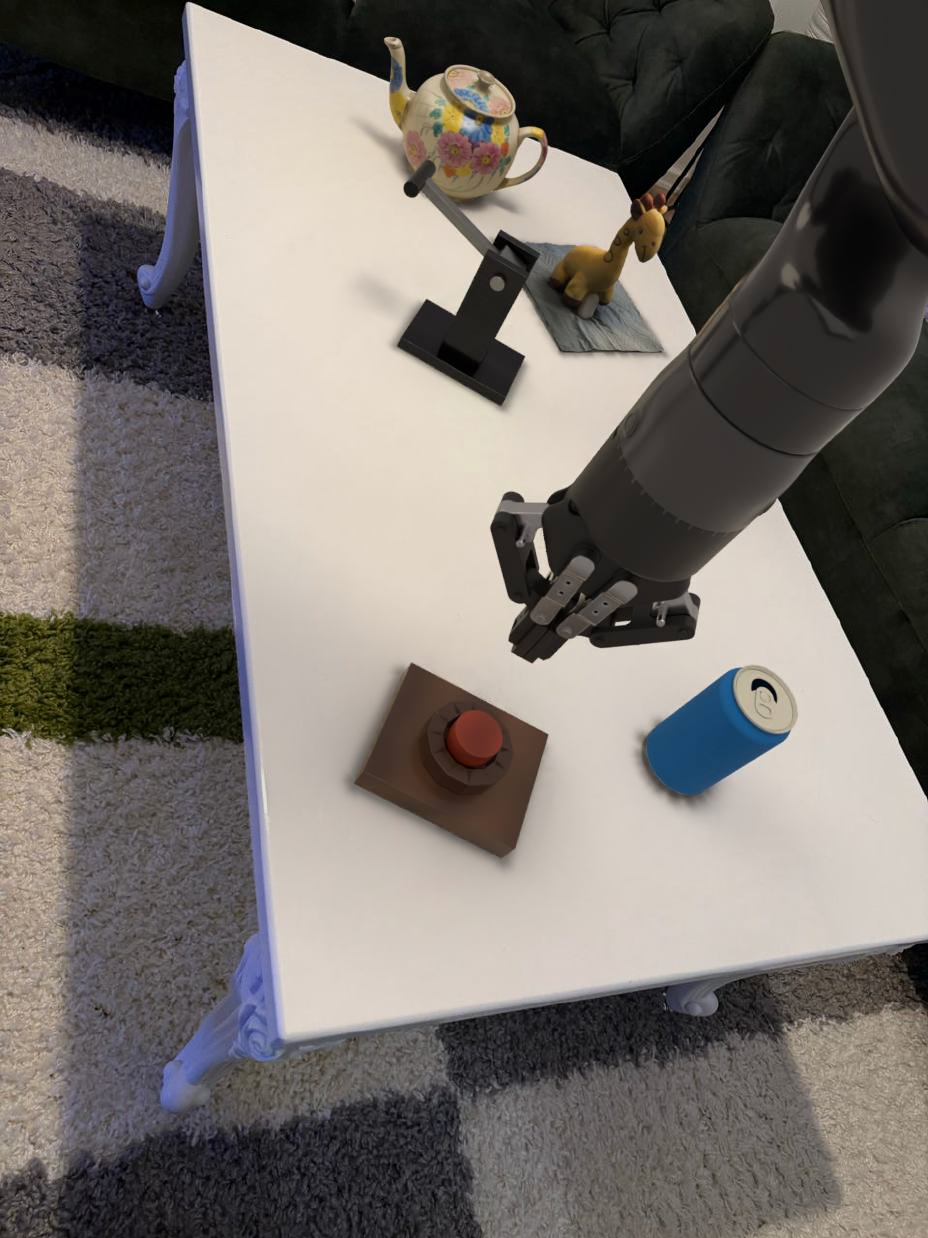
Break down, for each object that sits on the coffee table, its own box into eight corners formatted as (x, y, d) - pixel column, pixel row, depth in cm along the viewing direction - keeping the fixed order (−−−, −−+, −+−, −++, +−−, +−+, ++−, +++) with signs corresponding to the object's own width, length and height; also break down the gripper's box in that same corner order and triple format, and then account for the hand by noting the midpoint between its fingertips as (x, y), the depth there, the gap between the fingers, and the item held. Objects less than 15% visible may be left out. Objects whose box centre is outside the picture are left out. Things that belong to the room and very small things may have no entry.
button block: (353, 783, 62) (371, 761, 59) (401, 675, 68) (419, 650, 65) (502, 858, 63) (527, 840, 60) (536, 745, 70) (560, 724, 67)
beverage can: (709, 745, 77) (803, 681, 68) (703, 811, 73) (802, 752, 64) (645, 715, 76) (732, 646, 67) (636, 779, 72) (727, 715, 63)
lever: (396, 192, 78) (412, 173, 77) (415, 170, 82) (430, 151, 80) (500, 300, 83) (517, 284, 81) (514, 275, 86) (531, 259, 85)
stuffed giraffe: (561, 351, 99) (639, 226, 87) (493, 245, 106) (557, 117, 94) (660, 354, 108) (743, 242, 96) (591, 257, 115) (661, 141, 103)
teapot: (497, 163, 116) (543, 62, 106) (522, 230, 110) (574, 129, 100) (352, 122, 107) (387, 8, 97) (370, 193, 101) (410, 78, 91)
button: (439, 752, 62) (448, 742, 60) (455, 712, 64) (464, 701, 62) (484, 776, 62) (494, 766, 61) (498, 734, 64) (508, 724, 63)
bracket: (396, 346, 88) (443, 238, 79) (422, 306, 94) (469, 200, 84) (500, 406, 90) (559, 307, 80) (520, 364, 95) (578, 266, 85)
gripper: (817, 482, 43) (627, 652, 57) (587, 343, 42) (447, 552, 55) (810, 588, 39) (604, 747, 52) (550, 437, 37) (406, 641, 50)
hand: (524, 646), depth 53 cm, fingers closed
